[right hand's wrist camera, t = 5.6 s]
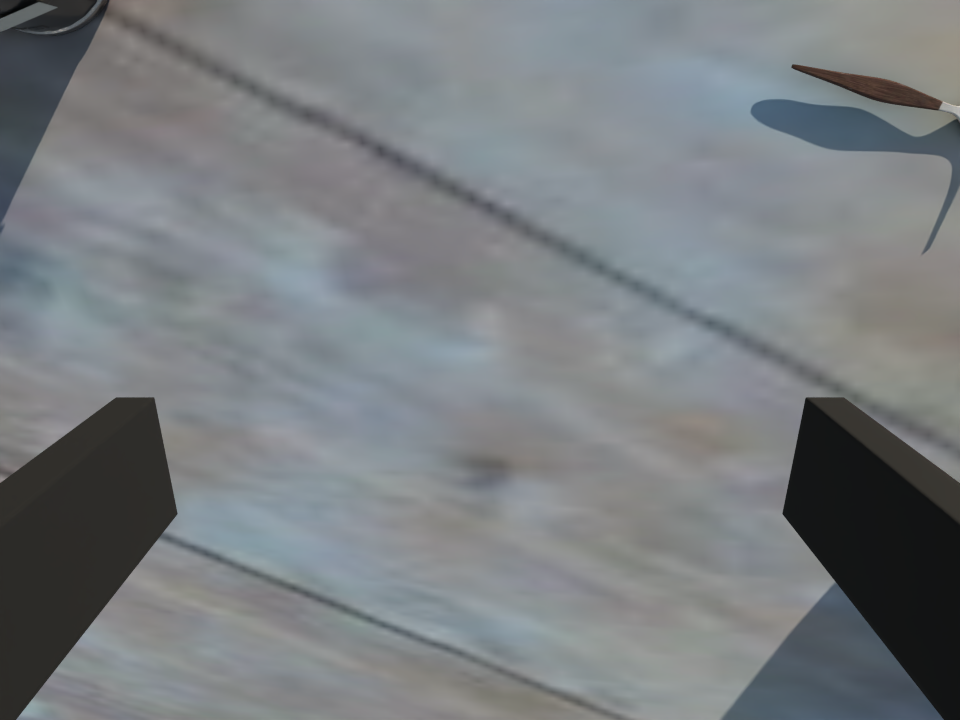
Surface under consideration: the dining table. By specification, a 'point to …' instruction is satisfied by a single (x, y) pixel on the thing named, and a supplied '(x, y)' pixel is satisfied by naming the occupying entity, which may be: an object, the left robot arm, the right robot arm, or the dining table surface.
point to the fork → (881, 90)
